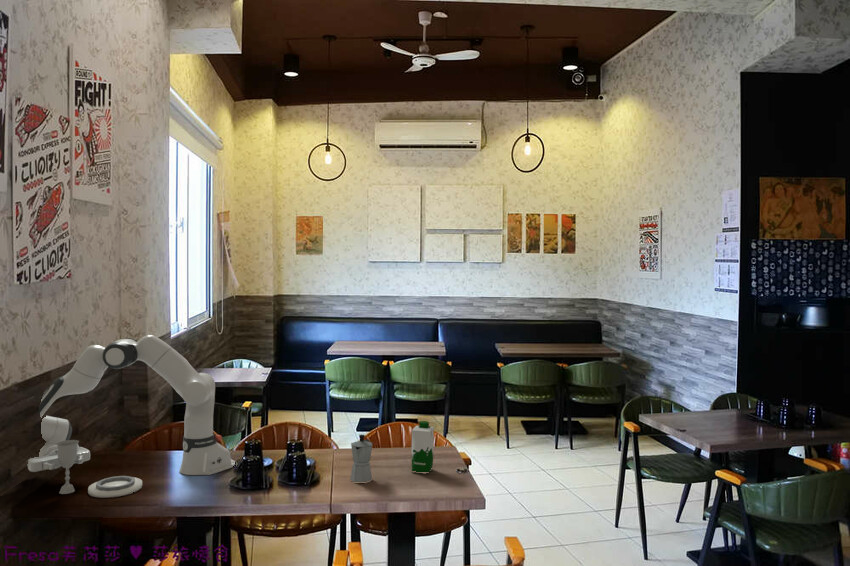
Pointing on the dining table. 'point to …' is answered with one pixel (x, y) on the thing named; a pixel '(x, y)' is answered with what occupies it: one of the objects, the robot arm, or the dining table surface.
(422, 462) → the milk carton
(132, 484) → the carrier plate
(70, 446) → the chalice
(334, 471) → the dining table surface
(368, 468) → the coffee maker
